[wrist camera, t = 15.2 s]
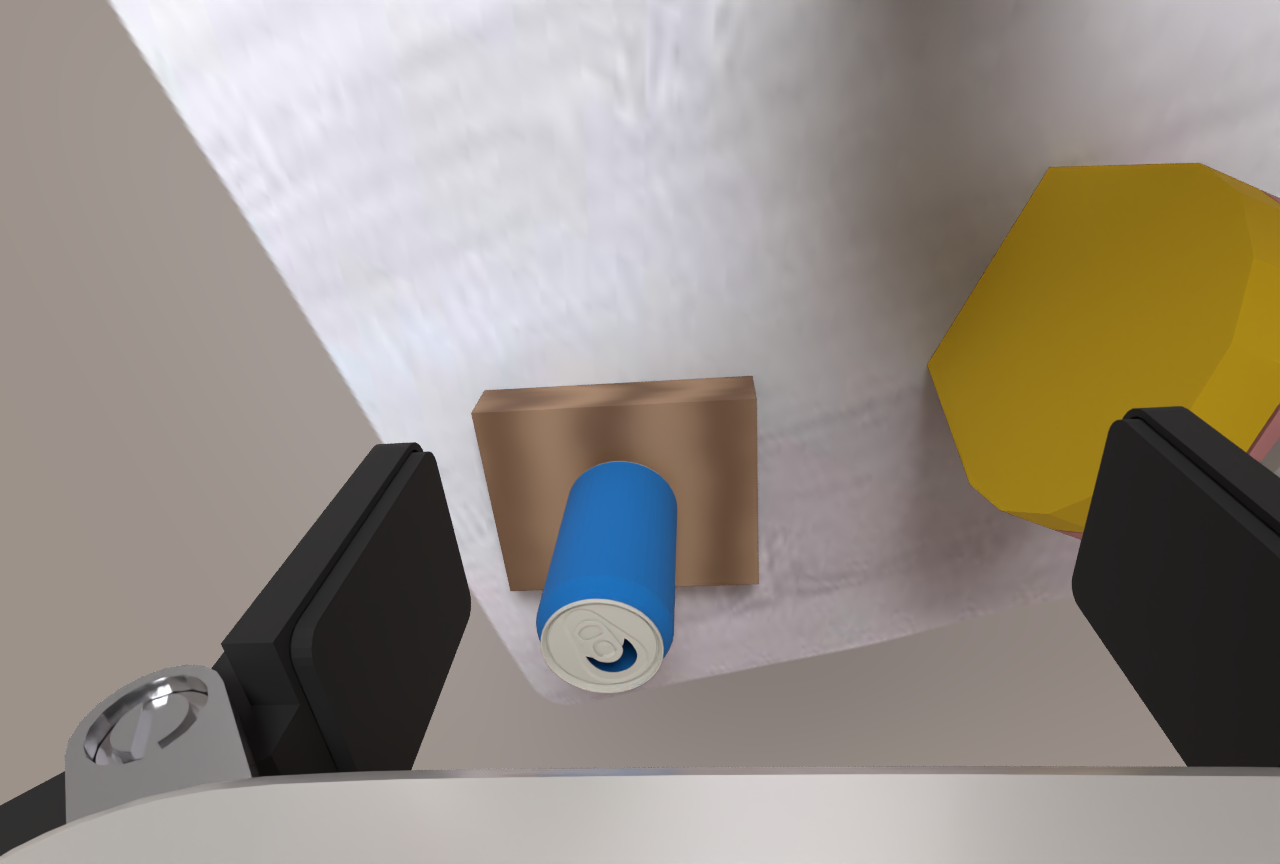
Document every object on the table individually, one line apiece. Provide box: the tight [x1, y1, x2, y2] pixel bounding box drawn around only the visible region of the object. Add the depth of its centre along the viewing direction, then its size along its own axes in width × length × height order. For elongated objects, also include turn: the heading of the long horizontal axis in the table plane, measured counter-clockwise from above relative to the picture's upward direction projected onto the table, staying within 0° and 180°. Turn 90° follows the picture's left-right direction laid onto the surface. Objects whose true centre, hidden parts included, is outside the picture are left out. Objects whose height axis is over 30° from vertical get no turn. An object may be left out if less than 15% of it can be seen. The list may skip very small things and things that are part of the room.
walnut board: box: [471, 376, 759, 591], centre depth 45 cm, size 16×13×3 cm
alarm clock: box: [927, 163, 1280, 540], centre depth 31 cm, size 15×8×18 cm, turn 160°
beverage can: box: [536, 461, 677, 693], centre depth 38 cm, size 6×6×12 cm
